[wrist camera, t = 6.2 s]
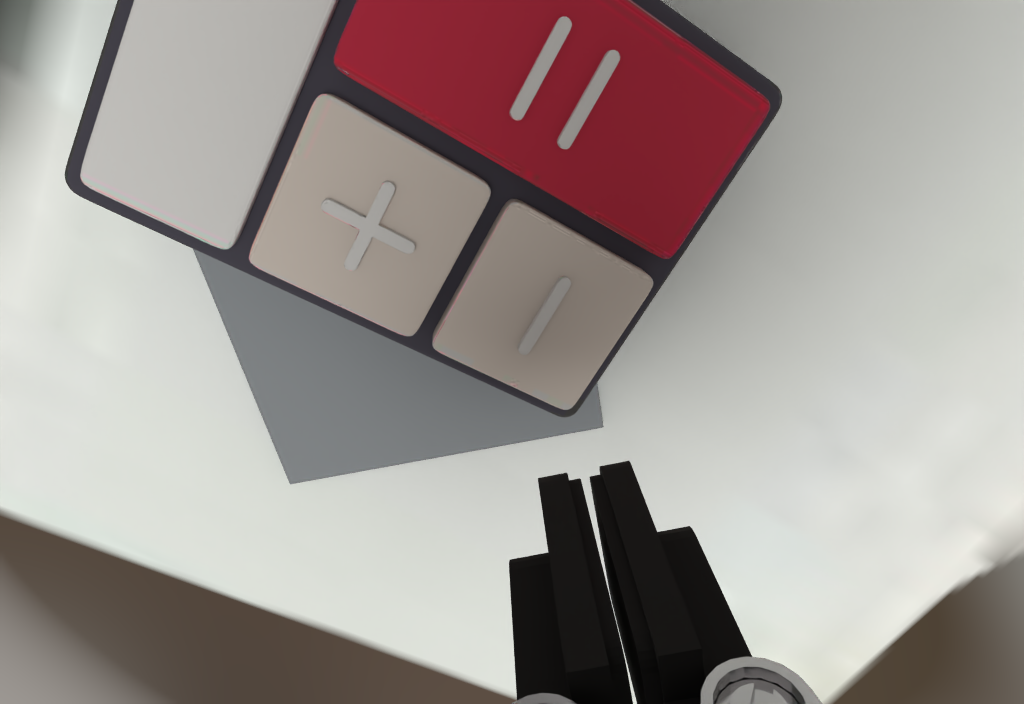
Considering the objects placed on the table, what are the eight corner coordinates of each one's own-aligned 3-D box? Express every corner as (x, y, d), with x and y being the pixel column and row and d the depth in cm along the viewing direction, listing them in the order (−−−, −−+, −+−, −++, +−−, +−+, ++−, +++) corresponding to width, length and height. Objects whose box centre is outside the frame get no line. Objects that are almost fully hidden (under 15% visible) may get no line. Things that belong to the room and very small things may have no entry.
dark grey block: (576, 437, 19) (37, 193, 14) (552, 375, 23) (122, 168, 18) (808, 95, 16) (202, -353, 11) (733, 91, 19) (262, -242, 15)
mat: (556, 115, 19) (558, 116, 19) (601, 421, 24) (603, 427, 23) (176, 192, 19) (170, 194, 19) (293, 477, 24) (290, 484, 24)
